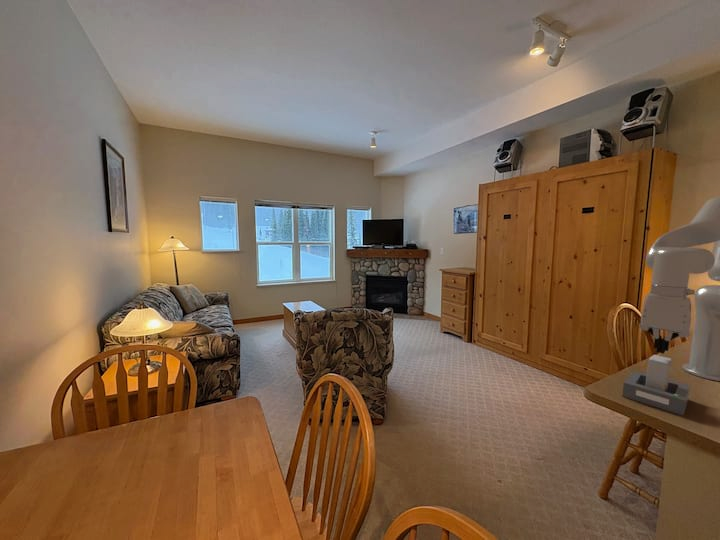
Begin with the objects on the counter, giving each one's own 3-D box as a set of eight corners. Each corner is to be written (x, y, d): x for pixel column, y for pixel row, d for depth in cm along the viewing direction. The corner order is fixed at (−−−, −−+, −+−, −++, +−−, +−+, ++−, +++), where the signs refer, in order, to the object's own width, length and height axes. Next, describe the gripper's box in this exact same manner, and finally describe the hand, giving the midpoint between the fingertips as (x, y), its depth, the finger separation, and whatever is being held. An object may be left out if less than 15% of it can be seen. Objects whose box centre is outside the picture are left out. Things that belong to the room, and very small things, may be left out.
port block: (631, 383, 103) (633, 369, 102) (688, 399, 93) (690, 384, 92) (622, 396, 95) (623, 381, 94) (683, 416, 85) (685, 399, 84)
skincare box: (662, 402, 90) (667, 363, 89) (643, 396, 94) (648, 358, 92) (667, 396, 94) (672, 358, 92) (648, 390, 97) (652, 354, 96)
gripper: (707, 293, 86) (698, 356, 89) (636, 286, 98) (630, 342, 100) (705, 297, 82) (696, 363, 84) (631, 289, 93) (625, 347, 95)
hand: (660, 351), depth 92 cm, fingers closed
